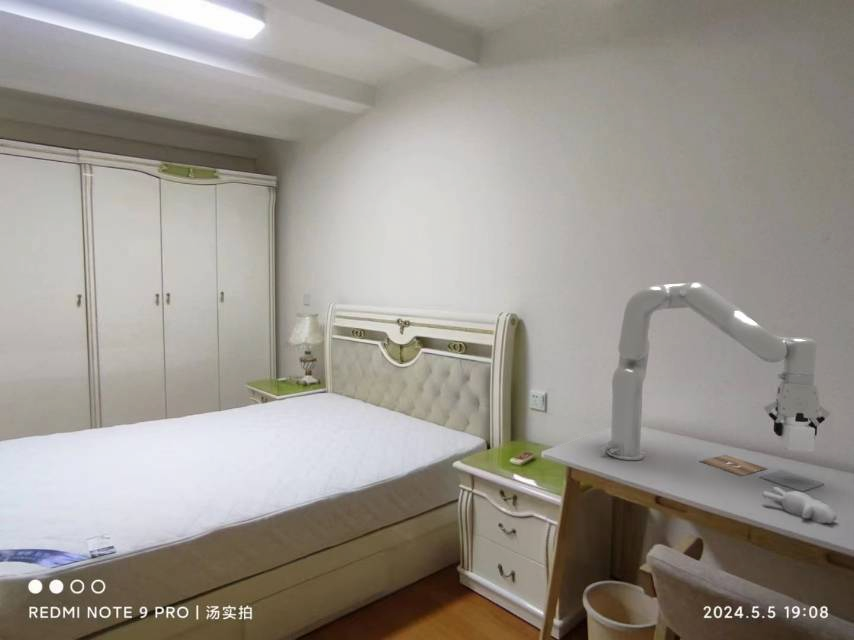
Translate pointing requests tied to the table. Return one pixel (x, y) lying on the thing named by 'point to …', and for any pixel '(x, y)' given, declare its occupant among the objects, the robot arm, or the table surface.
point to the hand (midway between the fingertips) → (794, 435)
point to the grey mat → (792, 480)
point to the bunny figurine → (803, 505)
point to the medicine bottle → (796, 434)
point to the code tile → (733, 465)
